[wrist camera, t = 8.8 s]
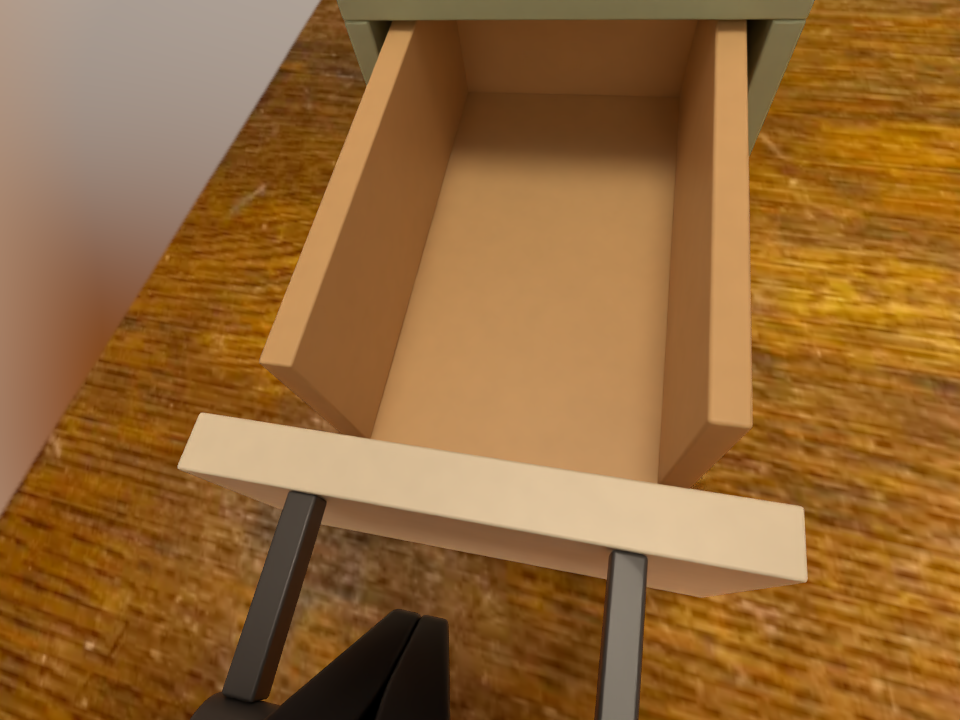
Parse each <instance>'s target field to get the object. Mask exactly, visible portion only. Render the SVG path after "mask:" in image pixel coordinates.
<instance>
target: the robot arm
mask: <svg viewBox="0 0 960 720" xmlns="http://www.w3.org/2000/svg"><path fill="white" fill-rule="evenodd" d="M264 720H450V672H449V625H448V621H447V620H446V619H443V618H438V617H434V616H429V615H424V616H422V617H421V616H420V614H418V613H415V612H411V611H406V610H402V609H396V610H393V611H392V612H390V613H389V614H388V615H387V616H386V617H384V618H383V619H382V620H381V621H380V622H378V623H377V624H376V625H375V626H374V627H373V628H371V629H370V630H369V631H368V632H367V633H366V634H364V635H363V636H362V637H361V638H360V639H358V640H357V641H356V642H355V643H354V644H353V645H351V646H350V647H349V648H348V649H347V650H345V651H344V652H343V653H342V654H341V655H340V656H338V657H337V658H336V659H335V660H334V661H332V662H331V663H330V664H329V665H328V666H327V667H325V668H324V669H323V670H322V671H321V672H319V673H318V674H317V675H316V676H315V677H314V678H312V679H311V680H310V681H309V682H308V683H307V684H305V685H304V686H303V687H302V688H301V689H299V690H298V691H297V692H296V693H295V694H294V695H292V696H291V697H290V698H289V699H288V700H286V701H285V702H284V703H283V704H282V705H281V706H279V707H278V708H277V709H276V710H275V711H273V712H272V713H271V714H270V715H269V716H268V717H266V718H265V719H264Z"/></svg>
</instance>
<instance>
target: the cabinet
mask: <svg viewBox="0 0 960 720" xmlns="http://www.w3.org/2000/svg"><path fill="white" fill-rule="evenodd" d="M814 1H815V0H337V3H338V6H339V9H340V12H341V14H342V17H343V19H344V20H345V26H346V28H347V31H348V34H349V37H350V40H351V43H352V45H353V48H354V51H355V54H356V57H357V60H358V62H359V65H360V68H361V71H362V74H363V76H364V79H365V82H366V85H367V84H368V82H369V79H370V77H371V74H372V72H373V69H374V67H375V64H376V62H377V59H378V56H379V54H380V51H381V49H382V46H383V44H384V41H385V39H386V36H387V34H388V31H389V28H390V26H391V23H392V21H393V20H734V19H747V77H748V143H749V156H750V154H751V151H752V149H753V146H754V144H755V142H756V139H757V137H758V135H759V132H760V130H761V127H762V125H763V123H764V120H765V118H766V115H767V113H768V111H769V108H770V106H771V103H772V101H773V99H774V96H775V94H776V92H777V89H778V87H779V84H780V82H781V80H782V77H783V75H784V72H785V70H786V68H787V65H788V63H789V61H790V58H791V56H792V53H793V51H794V49H795V46H796V44H797V41H798V39H799V37H800V34H801V32H802V30H803V27H804V25H805V22H806V21H805V19H806V18H807V17H808V15H809V13H810V10H811V8H812V6H813V3H814Z"/></svg>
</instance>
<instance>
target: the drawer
mask: <svg viewBox="0 0 960 720" xmlns="http://www.w3.org/2000/svg"><path fill="white" fill-rule="evenodd" d="M259 363H260V364H261V365H262V366H264V367H265V368H266V369H267V370H268V371H269V372H271V373H272V374H273V375H274V376H275V377H276V378H277V379H279V380H280V381H281V382H282V383H283V384H284V385H286V386H287V387H288V388H289V389H290V390H291V391H293V392H294V393H295V394H296V395H297V396H298V397H299V398H301V399H302V400H303V401H304V402H305V403H306V404H308V405H309V406H310V407H311V408H312V409H313V410H315V411H316V412H317V413H318V414H319V415H320V416H322V417H323V418H324V419H325V420H326V421H327V422H328V423H330V424H331V425H332V426H333V427H334V428H335V429H337V430H338V431H339V432H340V433H341V434H337V433H330V432H324V431H318V430H311V429H305V428H298V427H292V426H286V425H279V424H273V423H266V422H260V421H254V420H247V419H241V418H234V417H228V416H222V415H215V414H209V413H200V414H199V416H198V419H197V421H196V423H195V426H194V428H193V430H192V433H191V435H190V438H189V440H188V442H187V445H186V447H185V449H184V452H183V454H182V456H181V459H180V461H179V464H178V467H177V468H178V469H179V470H182V471H184V472H187V473H189V474H192V475H194V476H197V477H199V478H202V479H204V480H207V481H209V482H212V483H215V484H217V485H220V486H222V487H225V488H227V489H230V490H232V491H235V492H237V493H240V494H242V495H245V496H247V497H250V498H252V499H255V500H257V501H260V502H263V503H265V504H268V505H270V506H273V507H275V508H278V509H280V510H282V513H281V516H280V519H279V522H278V525H277V528H276V531H275V534H274V537H273V540H272V543H271V546H270V549H269V552H268V555H267V558H266V561H265V564H264V567H263V570H262V573H261V576H260V579H259V582H258V585H257V588H256V591H255V594H254V597H253V600H252V603H251V606H250V609H249V612H248V615H247V618H246V621H245V624H244V627H243V630H242V633H241V636H240V639H239V642H238V645H237V648H236V651H235V654H234V657H233V660H232V663H231V666H230V669H229V672H228V675H227V678H226V681H225V684H224V687H223V690H222V692H219V693H216V694H214V695H212V696H211V697H209V698H208V699H207V700H206V701H205V702H204V703H203V704H202V705H201V706H200V707H199V708H198V709H197V710H196V712H195V713H194V714H193V716H192V717H191V719H190V720H264V719H265V718H266V717H268V716H269V715H270V714H271V713H272V712H273V711H275V710H276V709H277V708H278V707H279V705H276V704H272V703H268V702H265V701H261V700H263V699H266V698H268V696H269V694H270V691H271V687H272V684H273V681H274V677H275V674H276V671H277V667H278V664H279V661H280V657H281V654H282V651H283V647H284V644H285V641H286V637H287V634H288V631H289V627H290V624H291V621H292V617H293V614H294V611H295V607H296V604H297V601H298V598H299V594H300V591H301V588H302V584H303V581H304V578H305V574H306V571H307V568H308V564H309V561H310V558H311V554H312V551H313V548H314V544H315V541H316V538H317V534H318V531H319V528H320V524H322V525H327V526H332V527H337V528H342V529H348V530H353V531H358V532H363V533H368V534H374V535H379V536H384V537H389V538H394V539H400V540H405V541H410V542H415V543H420V544H426V545H431V546H436V547H441V548H446V549H451V550H457V551H462V552H467V553H472V554H477V555H483V556H488V557H493V558H498V559H503V560H509V561H514V562H519V563H524V564H529V565H535V566H540V567H545V568H550V569H555V570H561V571H566V572H571V573H576V574H581V575H587V576H592V577H597V578H602V579H607V582H606V593H605V605H604V616H603V627H602V638H601V650H600V661H599V672H598V683H597V695H596V706H595V717H594V720H638V717H639V700H640V684H641V667H642V651H643V634H644V618H645V602H646V587H649V588H654V589H659V590H664V591H670V592H675V593H680V594H685V595H690V596H696V597H708V596H715V595H722V594H729V593H736V592H743V591H750V590H757V589H763V588H770V587H777V586H784V585H791V584H798V583H804V582H807V579H808V578H807V558H806V539H805V520H804V509H803V507H801V506H797V505H791V504H784V503H778V502H772V501H765V500H759V499H753V498H746V497H740V496H733V495H727V494H721V493H714V492H708V491H701V490H695V489H690V488H691V487H692V486H693V485H694V484H695V483H696V482H697V481H698V480H699V479H700V478H701V477H702V476H703V475H704V474H705V473H706V472H707V471H708V470H709V469H710V468H711V467H712V466H713V465H714V464H715V463H716V462H717V461H718V460H719V459H720V458H721V457H722V456H724V455H725V454H726V453H727V452H728V451H729V450H730V449H731V448H732V447H733V446H734V445H735V444H736V443H737V442H738V441H739V440H740V439H741V438H742V437H743V436H744V435H745V434H746V433H747V432H748V431H749V430H750V429H751V428H752V426H753V408H752V342H751V276H750V209H749V143H748V77H747V19H734V20H393V21H392V23H391V26H390V28H389V31H388V34H387V36H386V39H385V41H384V44H383V46H382V49H381V51H380V54H379V56H378V59H377V62H376V64H375V67H374V69H373V72H372V74H371V77H370V79H369V82H368V84H367V87H366V90H365V92H364V95H363V97H362V100H361V102H360V105H359V107H358V110H357V112H356V115H355V118H354V120H353V123H352V125H351V128H350V130H349V133H348V135H347V138H346V141H345V143H344V146H343V148H342V151H341V153H340V156H339V158H338V161H337V163H336V166H335V169H334V171H333V174H332V176H331V179H330V181H329V184H328V186H327V189H326V191H325V194H324V197H323V199H322V202H321V204H320V207H319V209H318V212H317V214H316V217H315V219H314V222H313V225H312V227H311V230H310V232H309V235H308V237H307V240H306V242H305V245H304V247H303V250H302V253H301V255H300V258H299V260H298V263H297V265H296V268H295V270H294V273H293V275H292V278H291V281H290V283H289V286H288V288H287V291H286V293H285V296H284V298H283V301H282V304H281V306H280V309H279V311H278V314H277V316H276V319H275V321H274V324H273V326H272V329H271V332H270V334H269V337H268V339H267V342H266V344H265V347H264V349H263V352H262V354H261V357H260V360H259Z"/></svg>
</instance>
